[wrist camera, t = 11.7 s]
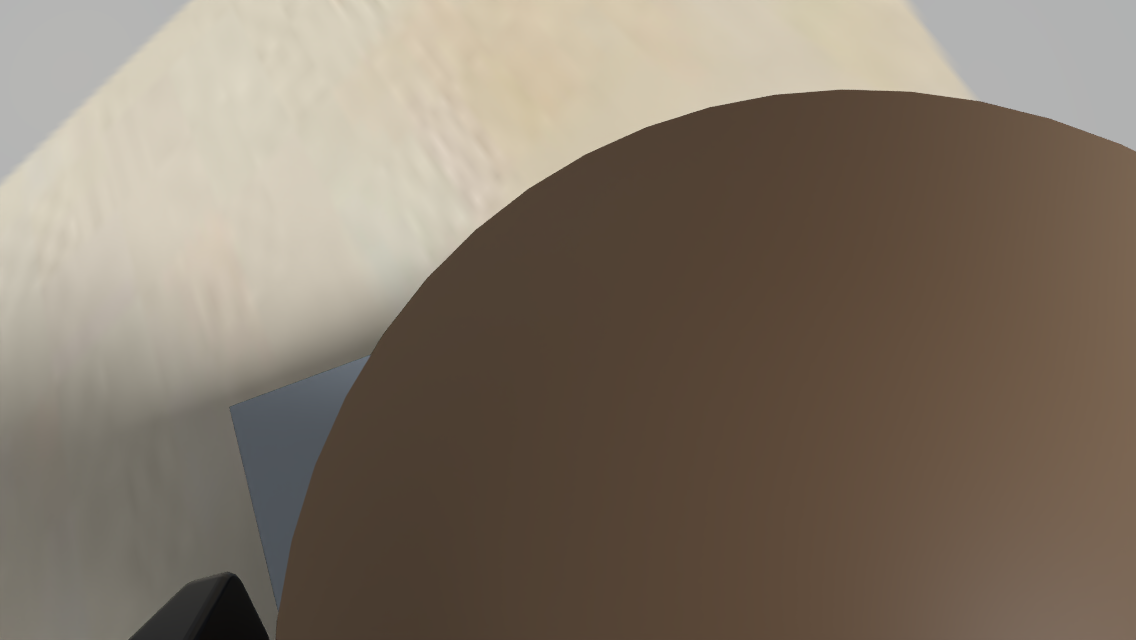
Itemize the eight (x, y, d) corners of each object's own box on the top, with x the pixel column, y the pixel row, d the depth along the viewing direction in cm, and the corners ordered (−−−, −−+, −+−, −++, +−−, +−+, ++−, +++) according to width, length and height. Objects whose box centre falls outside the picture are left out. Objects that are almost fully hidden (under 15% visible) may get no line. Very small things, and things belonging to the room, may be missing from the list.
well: (316, 459, 17) (229, 406, 14) (836, 264, 18) (890, 162, 14) (497, 1134, 13) (447, 1321, 10) (1149, 852, 14) (1336, 925, 10)
